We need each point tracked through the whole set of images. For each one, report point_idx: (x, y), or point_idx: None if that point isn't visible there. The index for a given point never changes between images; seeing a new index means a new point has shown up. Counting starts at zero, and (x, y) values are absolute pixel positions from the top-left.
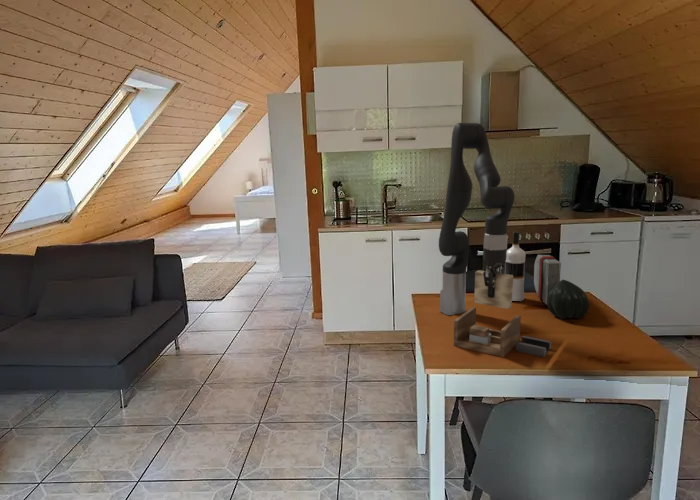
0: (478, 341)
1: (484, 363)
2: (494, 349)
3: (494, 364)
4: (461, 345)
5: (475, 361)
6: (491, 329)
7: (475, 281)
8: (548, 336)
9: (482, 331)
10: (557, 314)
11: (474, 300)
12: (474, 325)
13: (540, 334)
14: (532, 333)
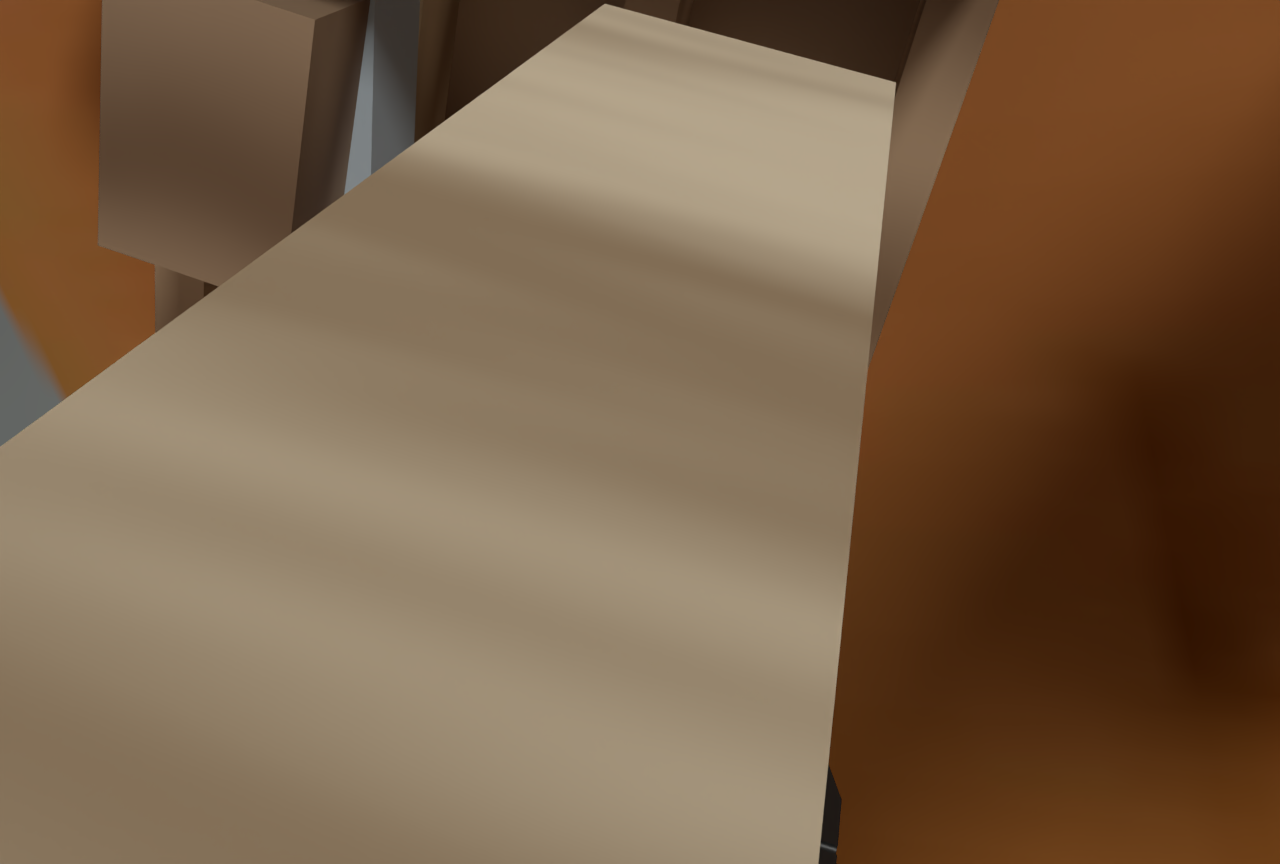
0: None
1: (25, 173)
2: (155, 317)
3: (66, 284)
4: None
5: (11, 59)
6: (901, 230)
7: (195, 344)
8: (1113, 841)
9: (104, 206)
10: None
11: (582, 28)
12: (282, 25)
13: (1170, 777)
14: (1194, 702)
